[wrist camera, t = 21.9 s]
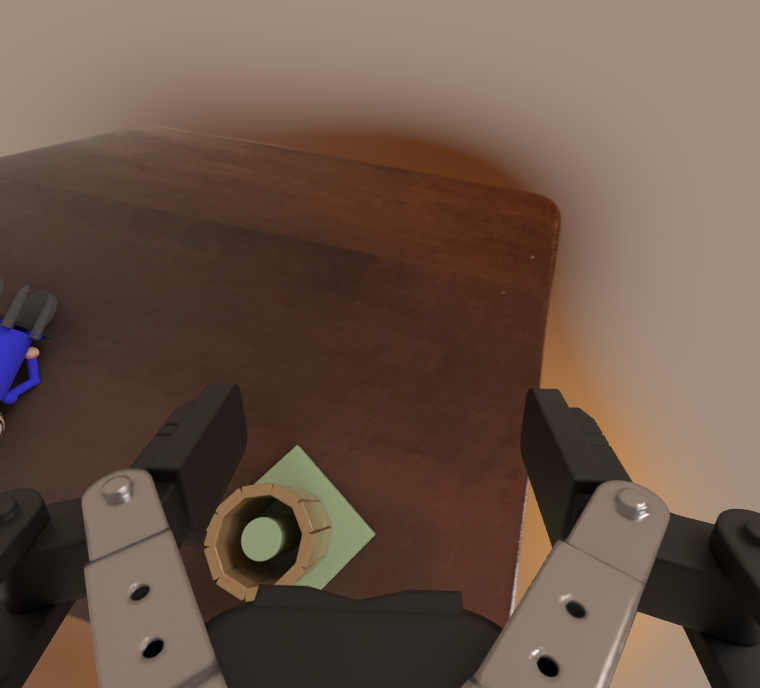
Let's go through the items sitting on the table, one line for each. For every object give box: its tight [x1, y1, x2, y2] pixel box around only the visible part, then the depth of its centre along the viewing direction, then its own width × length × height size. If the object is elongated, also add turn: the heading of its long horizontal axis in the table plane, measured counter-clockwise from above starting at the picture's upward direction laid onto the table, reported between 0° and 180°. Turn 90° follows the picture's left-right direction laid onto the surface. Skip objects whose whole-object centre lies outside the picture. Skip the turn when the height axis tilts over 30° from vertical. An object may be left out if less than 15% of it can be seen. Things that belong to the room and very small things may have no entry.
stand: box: [206, 445, 375, 590], centre depth 31 cm, size 9×9×9 cm
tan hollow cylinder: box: [204, 483, 332, 602], centre depth 31 cm, size 6×6×8 cm
